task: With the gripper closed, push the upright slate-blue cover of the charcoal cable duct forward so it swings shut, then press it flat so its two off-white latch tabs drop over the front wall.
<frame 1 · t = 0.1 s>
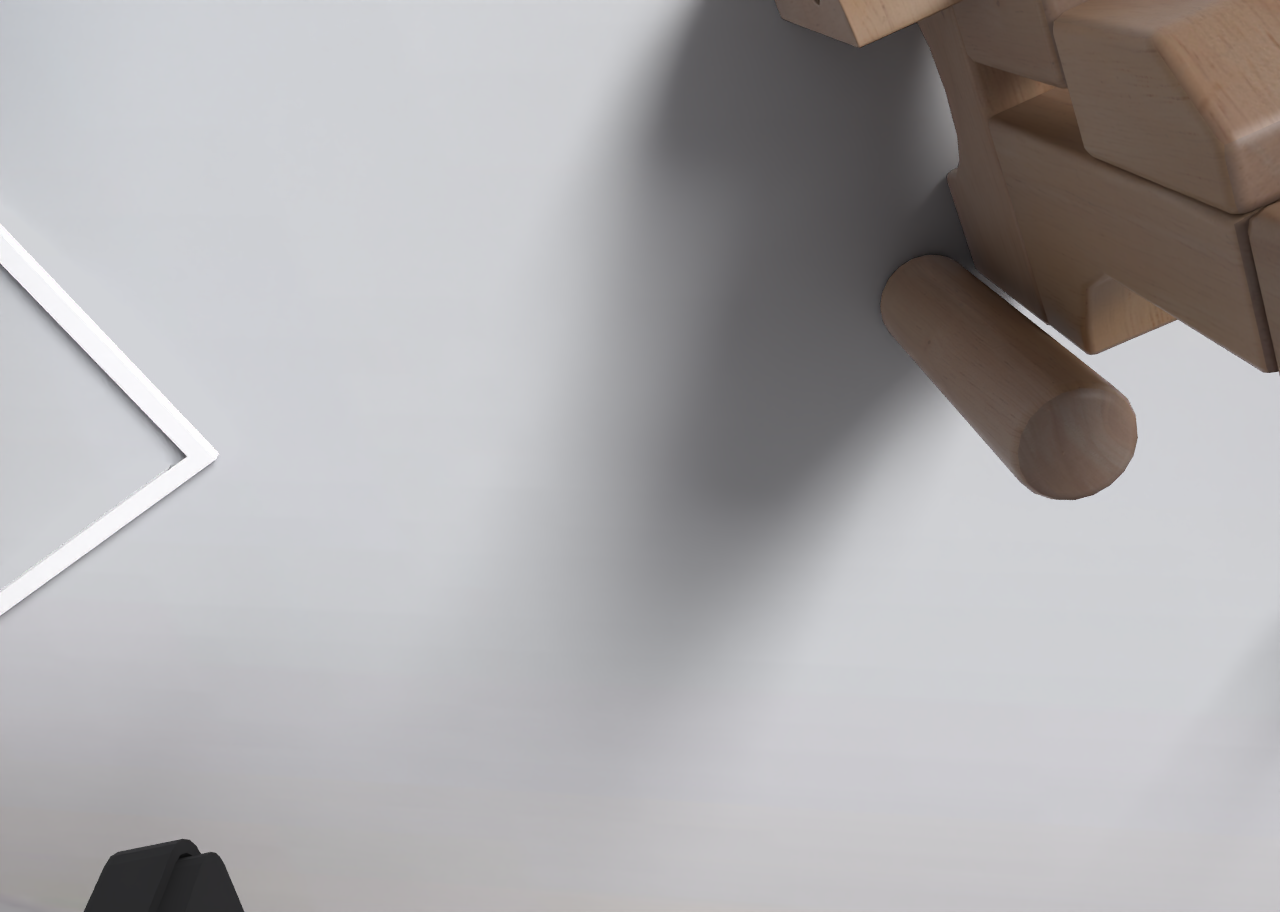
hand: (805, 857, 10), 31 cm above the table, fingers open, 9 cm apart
wooden toy: (914, 105, 39), on the table
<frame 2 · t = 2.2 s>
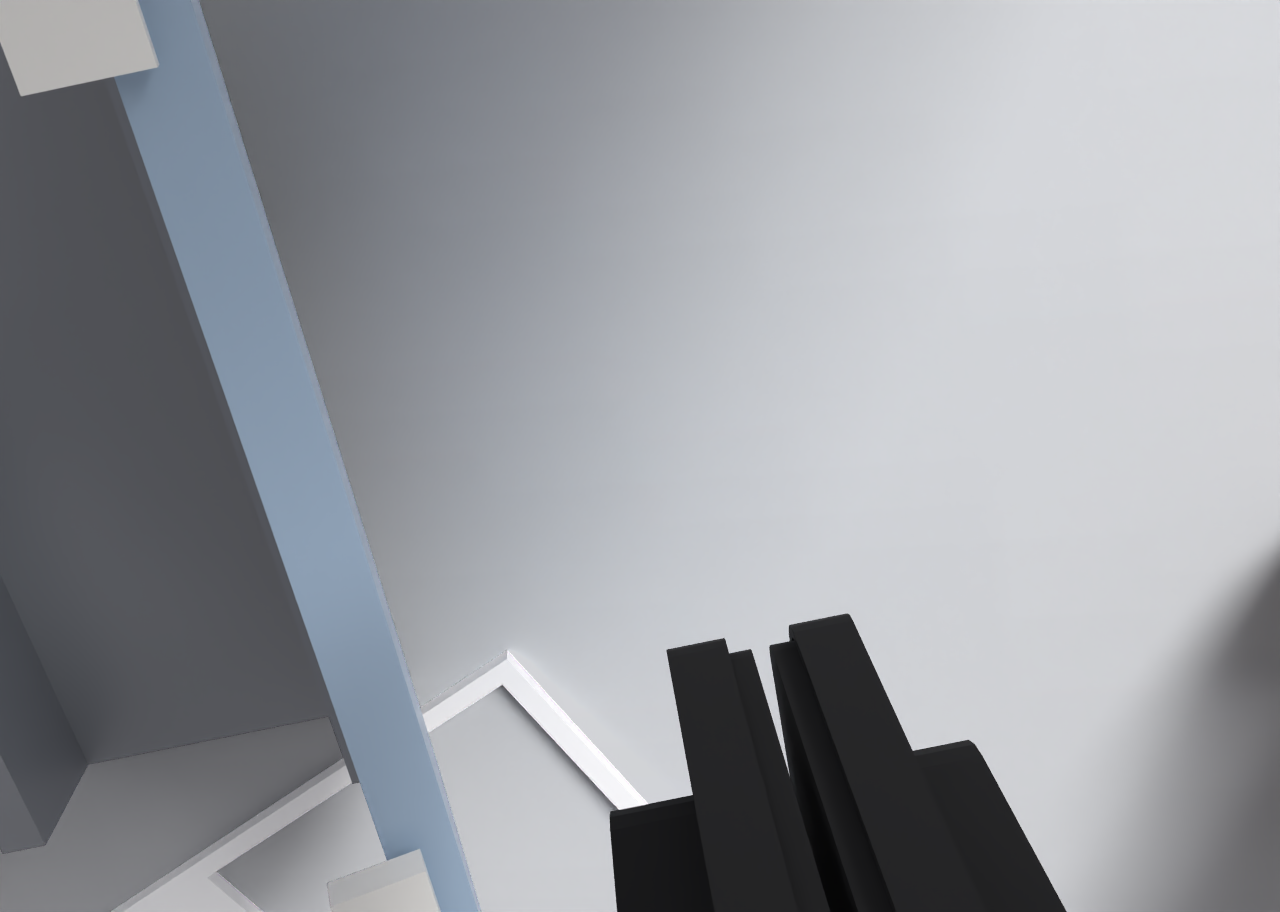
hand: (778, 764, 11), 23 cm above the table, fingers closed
duct cover: (261, 411, 23), point 10 cm above the table, hinge at 104.0°
cable duct: (80, 320, 32), on the table
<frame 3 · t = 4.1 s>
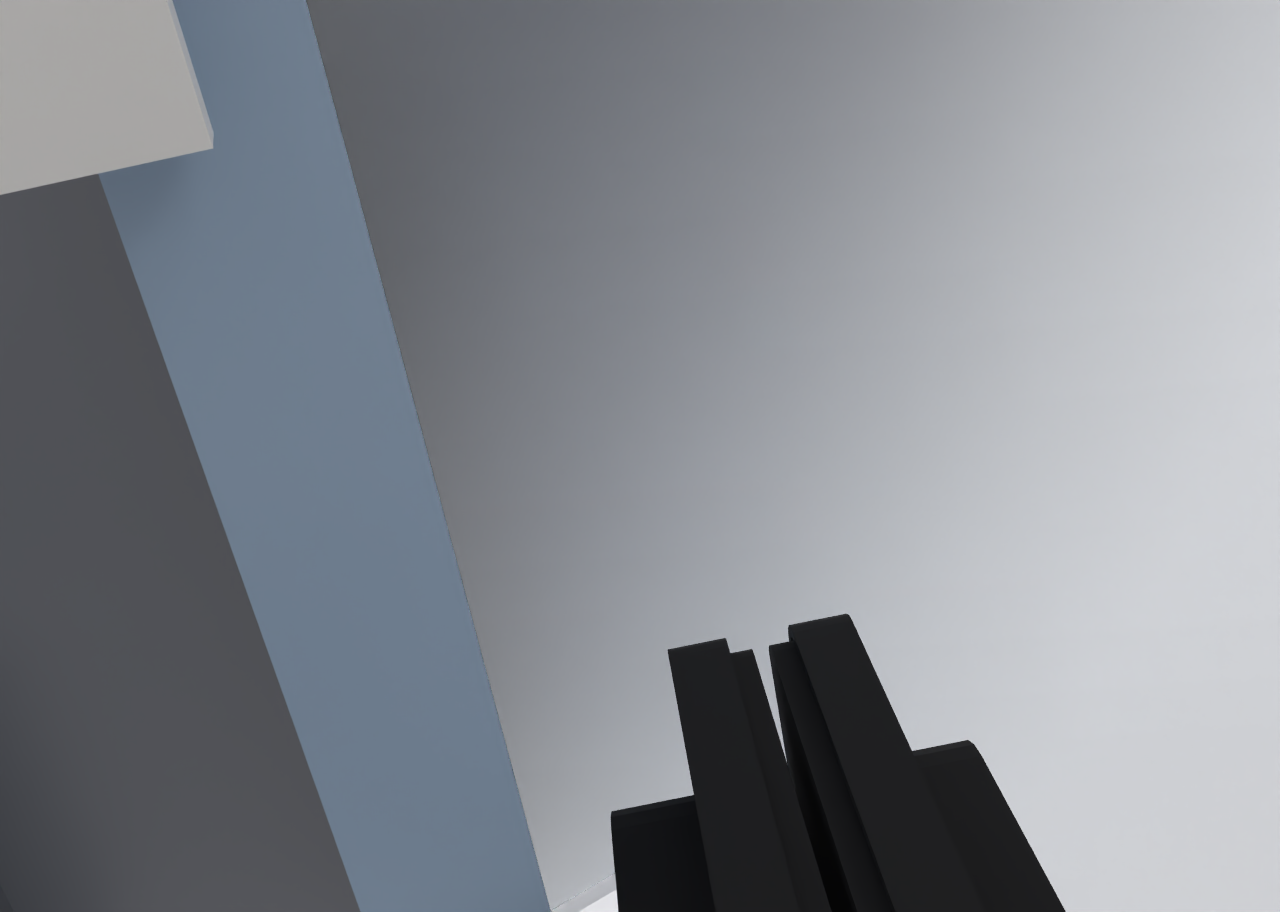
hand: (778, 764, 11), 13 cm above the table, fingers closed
duct cover: (357, 692, 13), point 10 cm above the table, hinge at 103.6°, touching gripper
cable duct: (61, 437, 23), on the table
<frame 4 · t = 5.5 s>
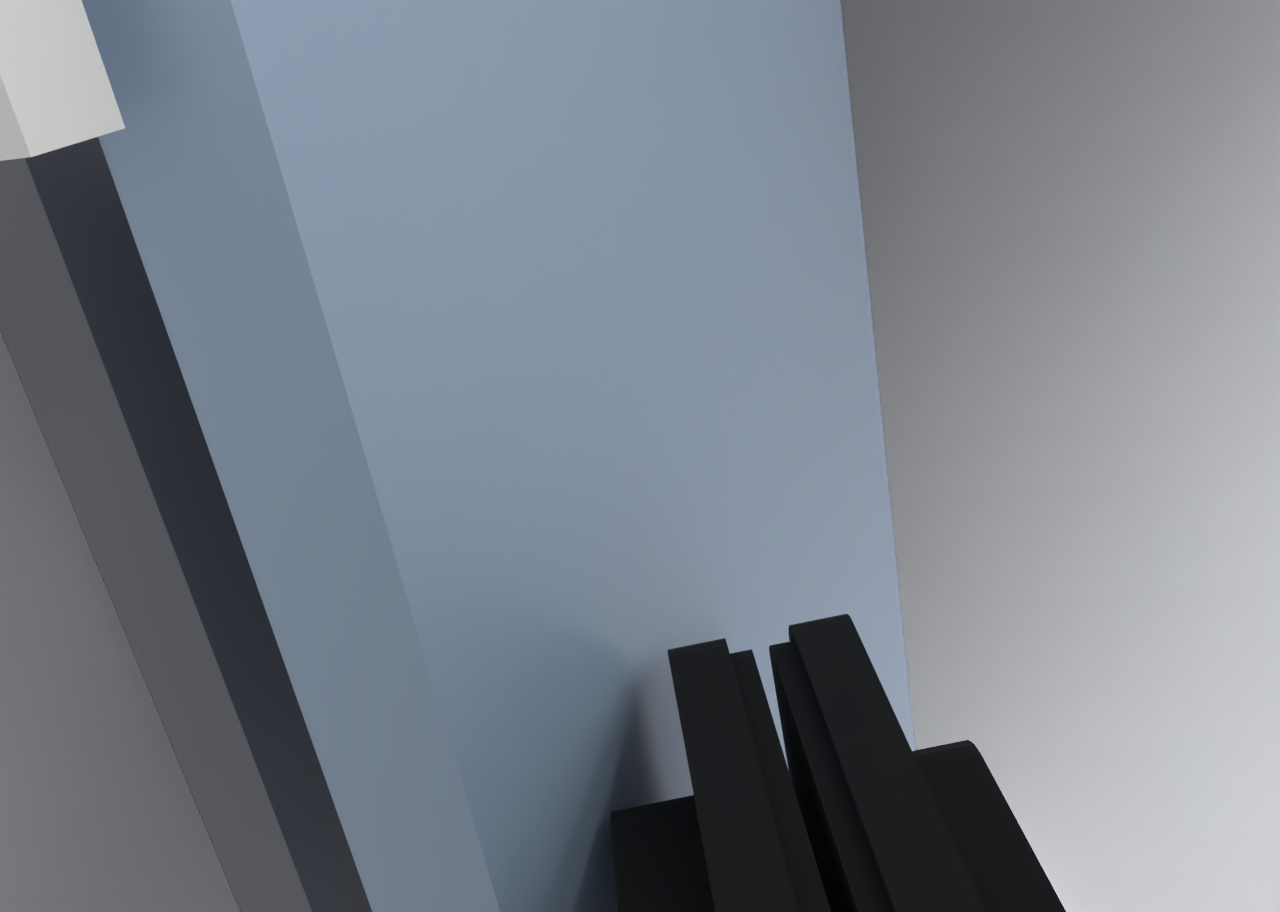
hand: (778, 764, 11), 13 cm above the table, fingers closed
duct cover: (654, 615, 13), point 10 cm above the table, hinge at 61.9°, touching gripper
cable duct: (458, 364, 22), on the table
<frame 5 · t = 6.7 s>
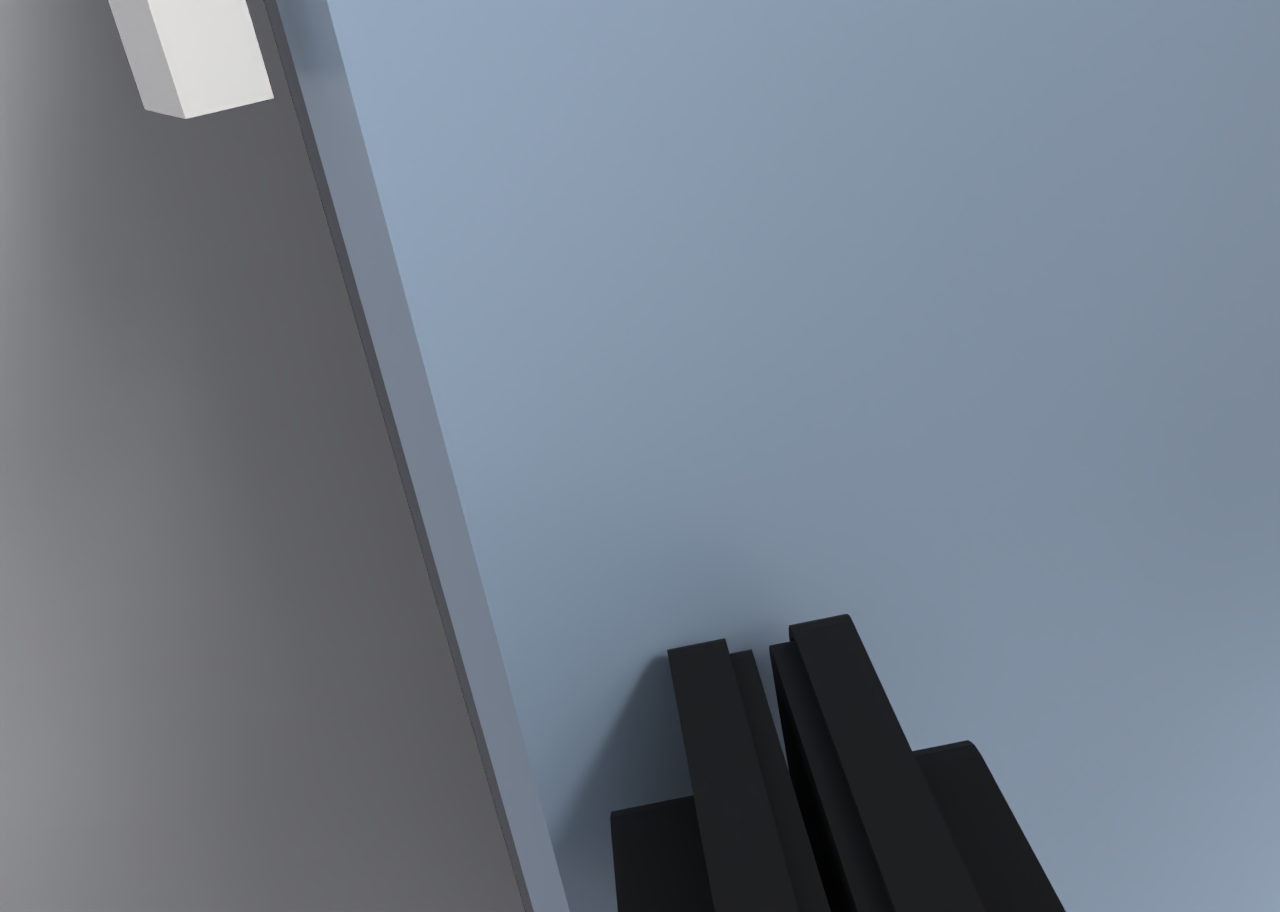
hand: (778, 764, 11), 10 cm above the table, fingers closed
duct cover: (908, 583, 13), point 7 cm above the table, hinge at 25.8°, touching gripper
cable duct: (773, 367, 20), on the table
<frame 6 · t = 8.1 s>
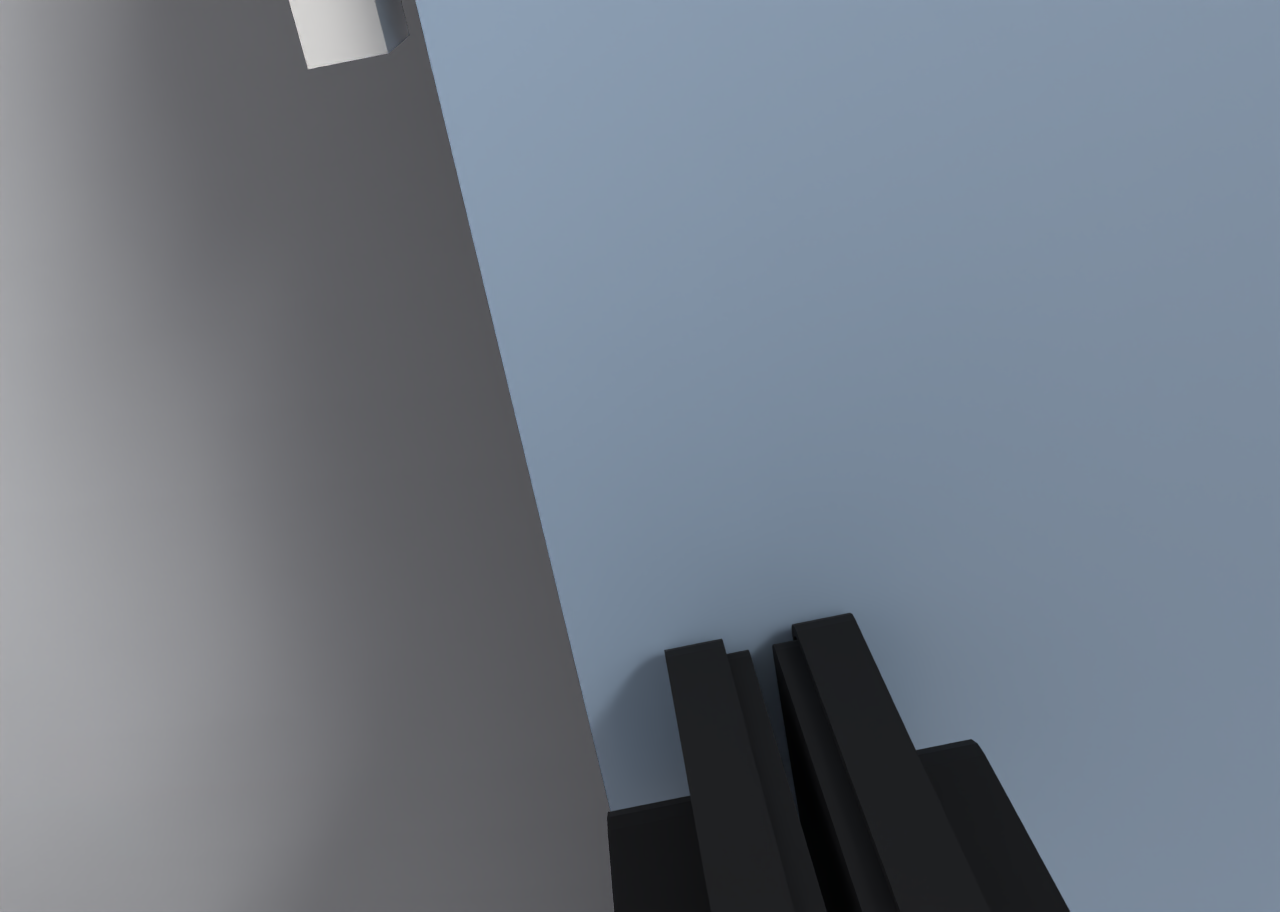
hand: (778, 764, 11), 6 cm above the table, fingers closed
duct cover: (1097, 620, 12), point 5 cm above the table, hinge at -0.3°, touching gripper
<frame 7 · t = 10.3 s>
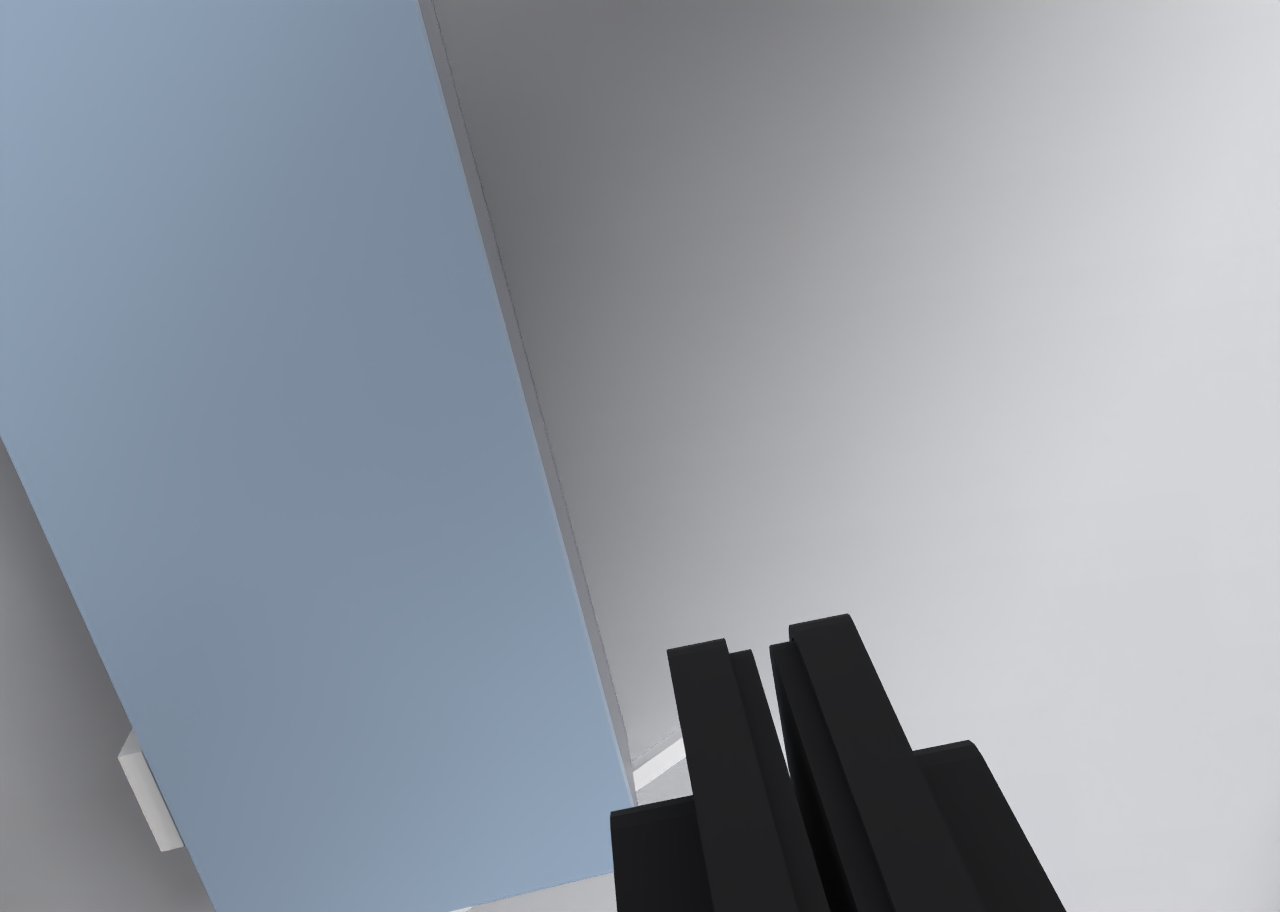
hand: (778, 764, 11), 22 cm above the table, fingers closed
duct cover: (271, 455, 28), point 5 cm above the table, hinge at -0.3°
cable duct: (320, 387, 32), on the table
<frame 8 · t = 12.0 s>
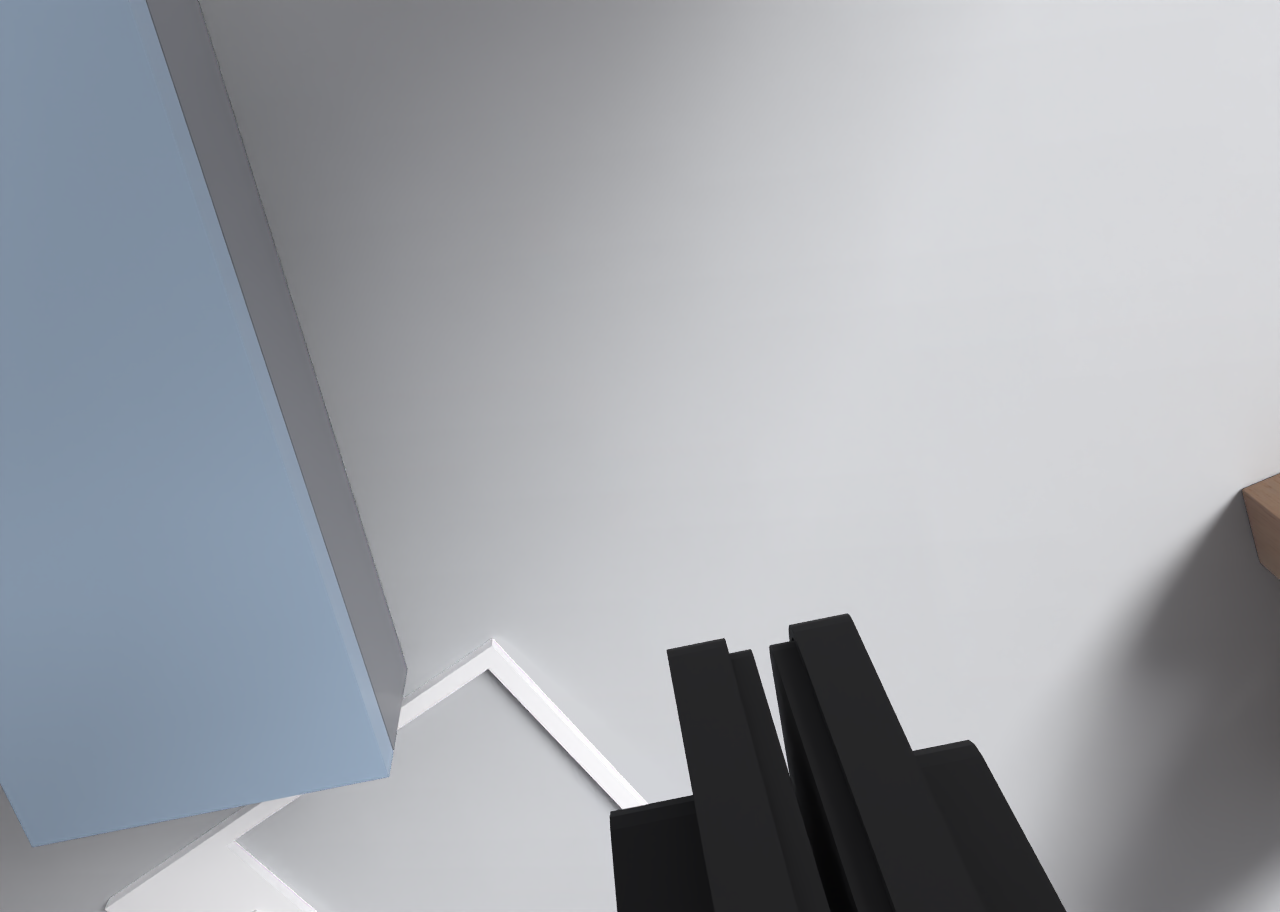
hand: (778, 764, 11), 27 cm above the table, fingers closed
duct cover: (45, 409, 32), point 5 cm above the table, hinge at -0.3°
photo frame: (427, 882, 47), on the table
cable duct: (117, 350, 37), on the table
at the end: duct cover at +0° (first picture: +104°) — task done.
